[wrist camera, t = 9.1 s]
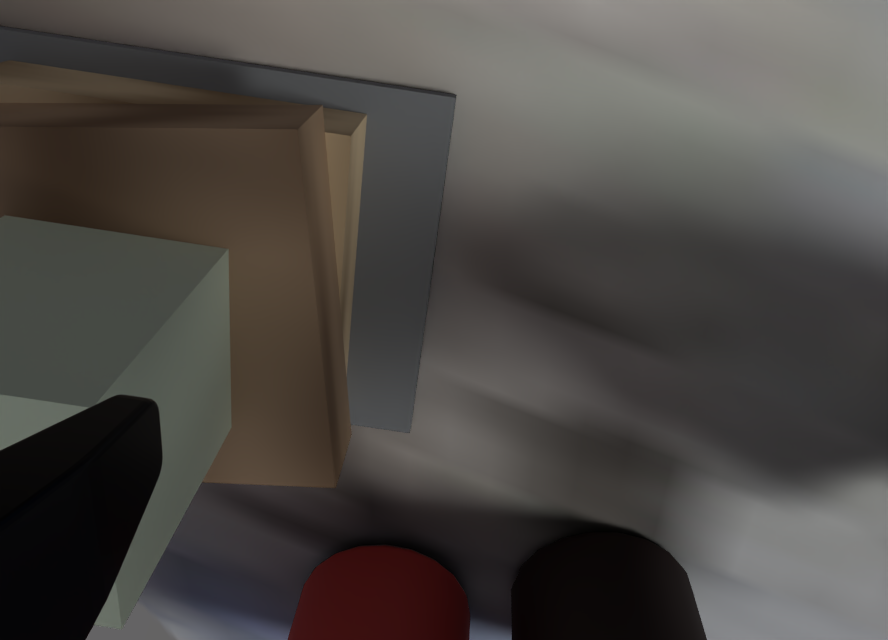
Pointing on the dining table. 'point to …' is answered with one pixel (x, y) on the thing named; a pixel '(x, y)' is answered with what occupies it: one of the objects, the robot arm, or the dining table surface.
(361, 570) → the beer can
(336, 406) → the slab top
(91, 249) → the sage block
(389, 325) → the mat
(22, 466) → the robot arm
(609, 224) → the dining table surface
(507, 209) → the dining table surface
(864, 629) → the dining table surface
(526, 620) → the bottle
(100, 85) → the slab bottom
